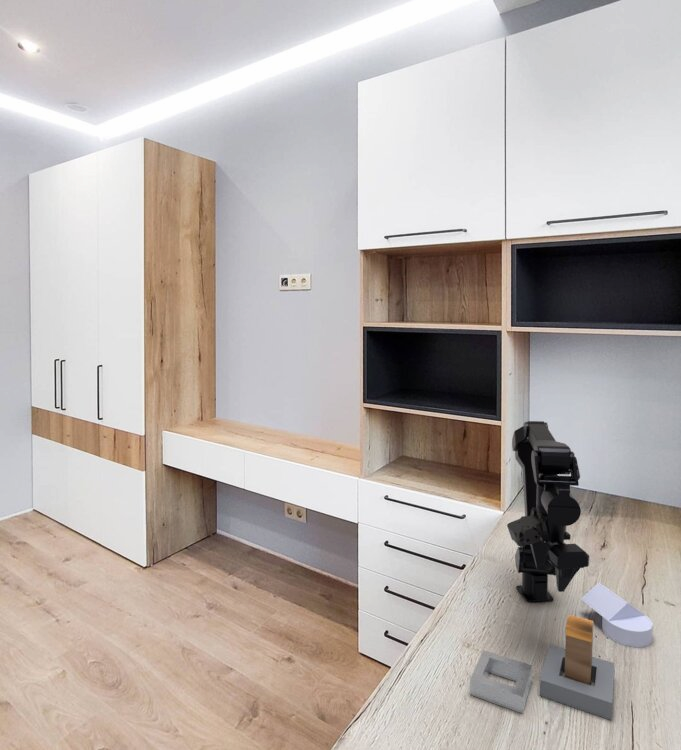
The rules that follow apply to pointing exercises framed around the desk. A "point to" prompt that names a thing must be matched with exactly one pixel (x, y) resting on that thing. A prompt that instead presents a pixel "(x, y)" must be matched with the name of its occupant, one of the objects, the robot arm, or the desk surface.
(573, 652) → the plug
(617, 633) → the wedge on round base
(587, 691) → the socket
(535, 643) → the desk surface
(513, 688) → the frame
